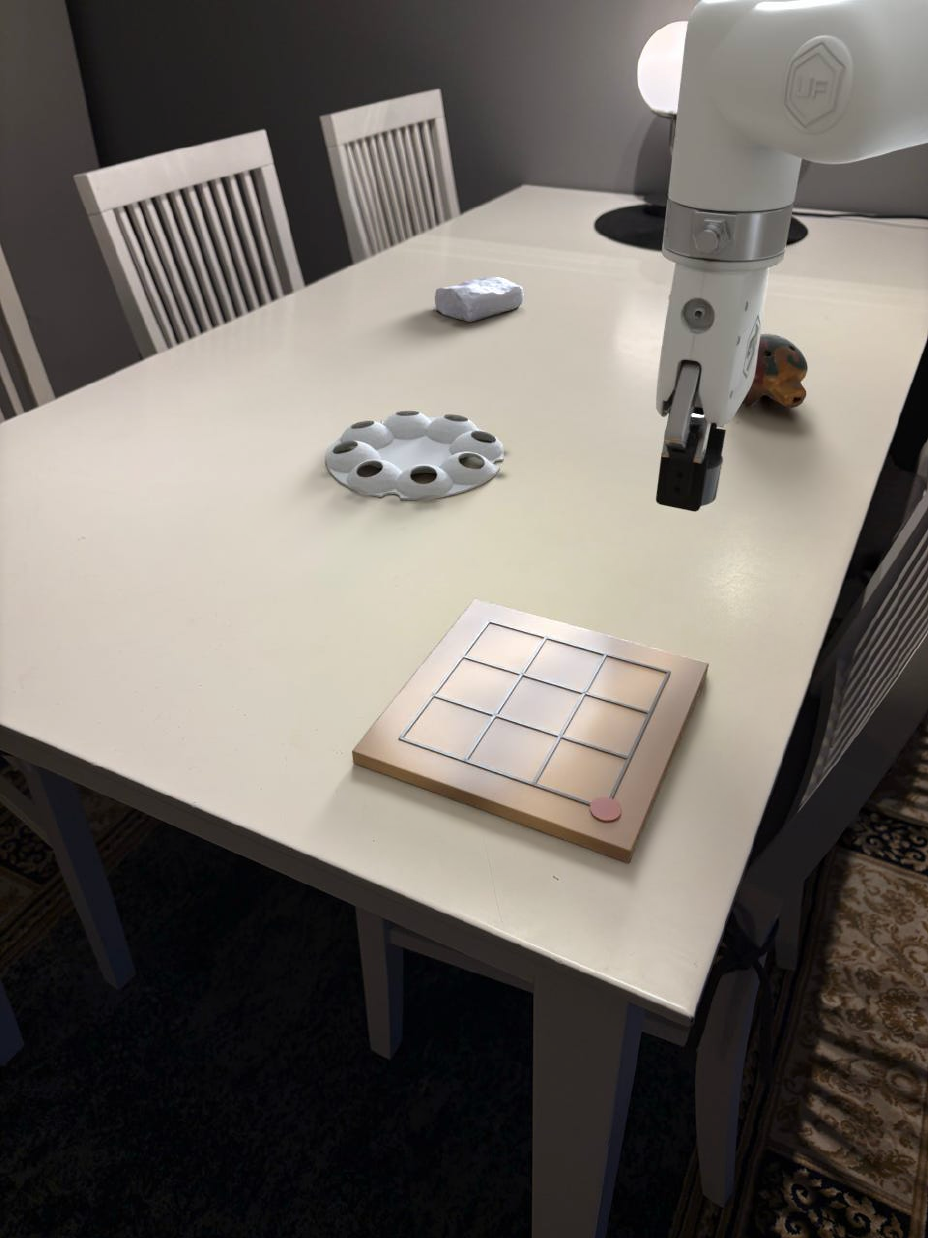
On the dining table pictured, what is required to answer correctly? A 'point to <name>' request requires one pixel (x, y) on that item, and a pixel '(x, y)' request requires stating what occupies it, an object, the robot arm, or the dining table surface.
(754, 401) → the decorative turtle
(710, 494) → the grey metallic short cylinder
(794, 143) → the robot arm
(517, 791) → the game board
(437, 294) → the block
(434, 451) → the round palette
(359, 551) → the dining table surface
